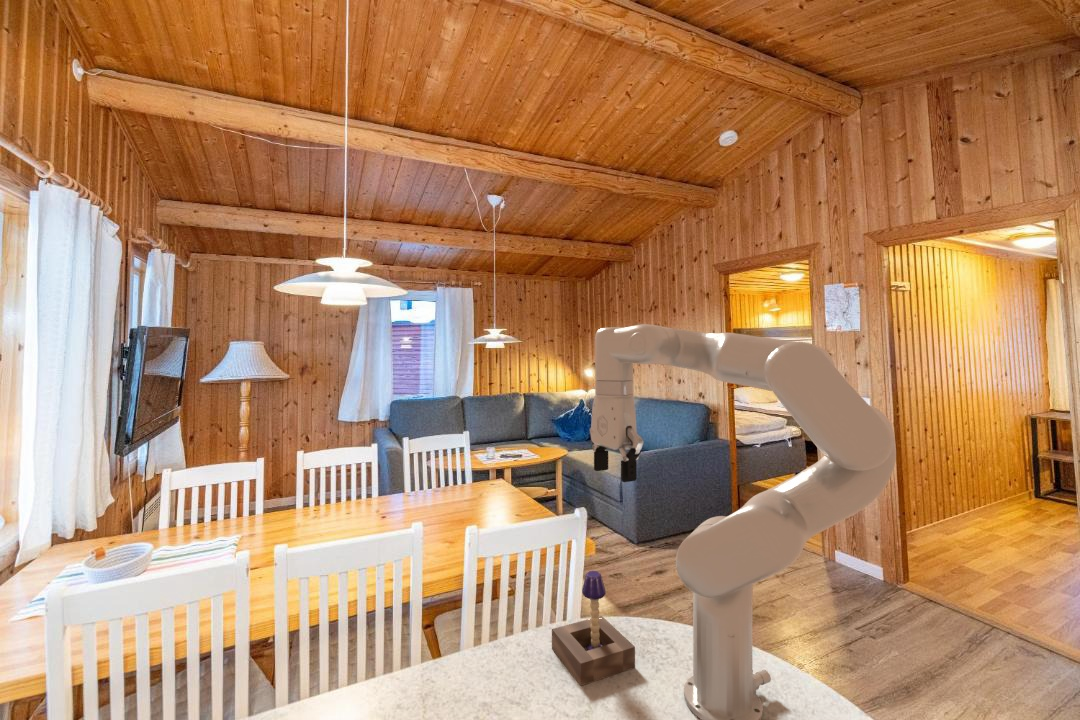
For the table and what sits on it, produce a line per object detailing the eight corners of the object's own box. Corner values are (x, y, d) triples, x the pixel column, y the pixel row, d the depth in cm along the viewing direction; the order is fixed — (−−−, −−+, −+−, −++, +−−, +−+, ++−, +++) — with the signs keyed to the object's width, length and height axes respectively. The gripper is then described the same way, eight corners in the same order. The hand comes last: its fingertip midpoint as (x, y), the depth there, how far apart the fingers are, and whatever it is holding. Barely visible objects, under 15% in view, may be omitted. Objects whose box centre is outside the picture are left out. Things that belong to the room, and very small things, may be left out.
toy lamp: (605, 665, 90) (604, 580, 89) (581, 661, 91) (580, 577, 90) (607, 649, 94) (606, 568, 94) (584, 646, 95) (583, 566, 95)
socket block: (601, 634, 100) (601, 615, 100) (635, 667, 89) (635, 646, 89) (551, 648, 95) (551, 629, 95) (580, 685, 84) (580, 663, 84)
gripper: (576, 387, 98) (576, 468, 98) (623, 392, 83) (623, 488, 83) (606, 387, 102) (606, 465, 101) (657, 391, 86) (657, 483, 86)
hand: (614, 475), depth 92 cm, fingers open, 9 cm apart
